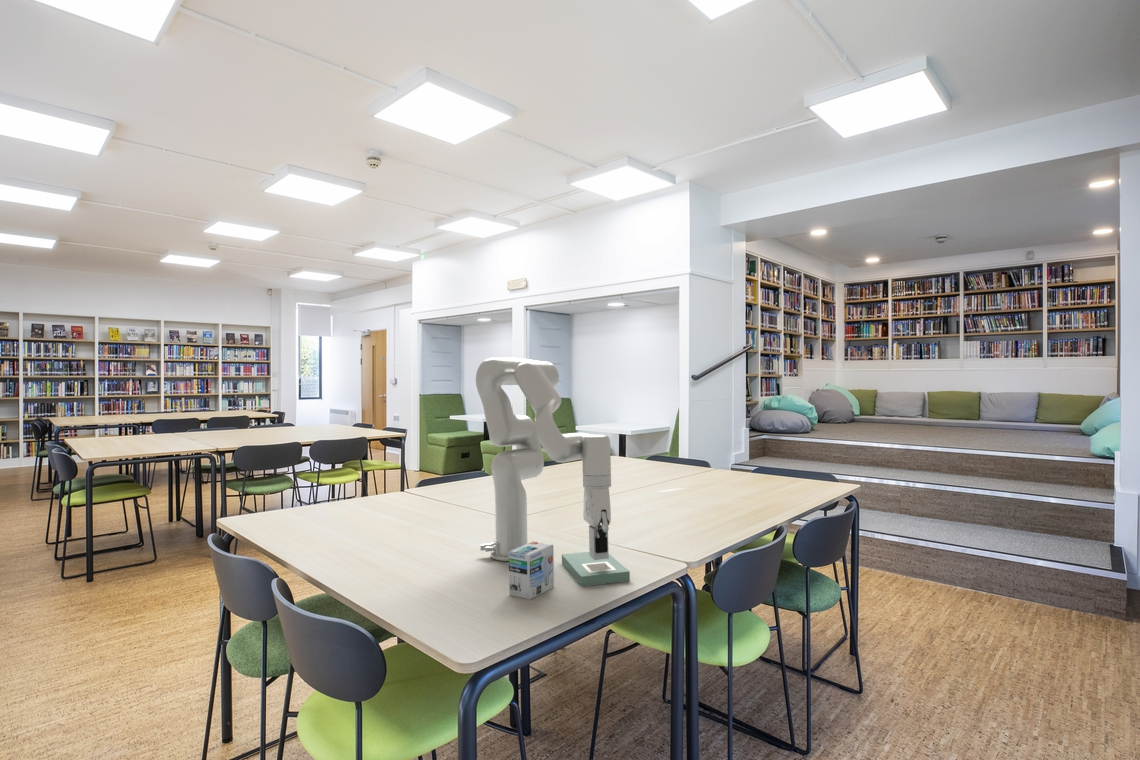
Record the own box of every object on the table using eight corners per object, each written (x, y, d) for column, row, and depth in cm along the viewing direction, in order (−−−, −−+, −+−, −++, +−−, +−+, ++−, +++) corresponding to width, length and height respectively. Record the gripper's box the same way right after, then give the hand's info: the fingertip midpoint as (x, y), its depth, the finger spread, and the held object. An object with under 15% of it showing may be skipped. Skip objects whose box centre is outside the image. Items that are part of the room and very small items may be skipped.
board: (581, 586, 141) (581, 576, 141) (561, 563, 160) (561, 554, 161) (629, 581, 145) (629, 571, 145) (604, 558, 164) (604, 550, 164)
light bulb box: (530, 600, 133) (529, 554, 133) (507, 595, 136) (507, 550, 136) (555, 586, 142) (554, 543, 142) (533, 582, 145) (532, 540, 145)
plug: (594, 560, 146) (593, 529, 146) (589, 555, 150) (588, 525, 150) (610, 558, 147) (609, 527, 148) (605, 554, 151) (604, 524, 151)
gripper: (575, 477, 156) (576, 543, 156) (593, 486, 140) (594, 560, 140) (600, 475, 158) (602, 540, 158) (621, 484, 142) (623, 557, 142)
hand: (598, 549), depth 149 cm, fingers closed on plug, 4 cm apart
